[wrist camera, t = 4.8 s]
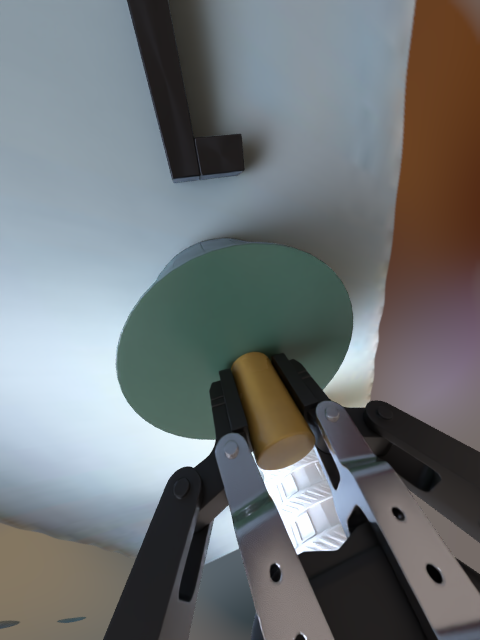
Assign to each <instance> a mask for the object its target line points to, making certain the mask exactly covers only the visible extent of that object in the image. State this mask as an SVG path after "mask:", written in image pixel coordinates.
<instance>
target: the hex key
mask: <svg viewBox="0 0 480 640" xmlns="http://www.w3.org/2000/svg"><path fill="white" fill-rule="evenodd" d="M127 2H128V6H129V10H130V14H131V18H132V22H133V26H134V30H135V34H136V38H137V42H138V46H139V50H140V54H141V58H142V62H143V66H144V70H145V73H146V77H147V81H148V85H149V89H150V93H151V97H152V101H153V105H154V109H155V113H156V117H157V121H158V125H159V129H160V133H161V137H162V141H163V145H164V149H165V153H166V157H167V161H168V165H169V169H170V172H171V176H172V180H173V182H174V183H179V182H187V181H195V180H204V179H212V178H220V177H228V176H236V175H239V174H240V173H241V172H243V171H244V170H245V169H244V158H243V147H242V136H241V134H232V135H221V136H209V137H198V138H194V136H193V131H192V125H191V120H190V115H189V110H188V104H187V99H186V94H185V88H184V83H183V78H182V72H181V67H180V62H179V56H178V51H177V46H176V40H175V35H174V30H173V24H172V19H171V14H170V8H169V3H168V0H127Z"/></svg>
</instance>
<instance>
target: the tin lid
mask: <svg viewBox="0 0 480 640" xmlns="http://www.w3.org/2000/svg"><path fill="white" fill-rule="evenodd" d="M352 330H353V312H352V305H351V301H350V298H349V295H348V292H347V290H346V289H345V287H344V285H343V283H342V281H341V280H340V279H339V277H338V276H337V275H336V274H335V272H334V271H333V270H332V269H331V268H330V267H328V266H327V265H326V264H325V263H324V262H323V261H321V260H319V259H318V258H316V257H314V256H313V255H311V254H309V253H307V252H304V251H301V250H299V249H296V248H293V247H290V246H286V245H281V244H276V243H268V242H246V243H237V244H230V245H226V246H222V247H218V248H214V249H210V250H208V251H206V252H203V253H201V254H198V255H196V256H193V257H191V258H189V259H187V260H186V261H184V262H182V263H181V264H179V265H177V266H175V267H174V268H172V269H171V270H169V271H168V272H167V273H166V274H164V275H163V276H162V277H161V278H159V279H158V280H157V281H156V282H155V283H154V284H153V285H152V286H151V287H150V288H149V289H148V290H147V291H146V292H145V293H144V294H143V295H142V296H141V298H140V299H139V301H138V302H137V304H136V305H135V307H134V308H133V310H132V311H131V313H130V315H129V316H128V319H127V321H126V323H125V325H124V327H123V329H122V332H121V335H120V338H119V342H118V346H117V353H116V370H117V378H118V381H119V384H120V387H121V390H122V393H123V395H124V396H125V398H126V400H127V402H128V403H129V404H130V406H131V407H132V408H133V409H134V411H135V412H136V413H137V414H138V415H140V416H141V417H142V418H143V419H144V420H145V421H147V422H148V423H150V424H152V425H153V426H155V427H157V428H159V429H161V430H163V431H165V432H168V433H171V434H174V435H177V436H181V437H186V438H193V439H208V440H214V439H216V434H215V427H214V420H213V413H212V407H211V400H210V393H209V390H210V387H211V384H212V383H213V382H216V381H219V380H220V376H219V371H221V370H224V369H228V368H231V371H232V375H233V378H234V381H235V384H236V388H237V391H238V394H239V398H240V401H241V404H242V407H243V411H244V414H245V417H246V420H247V424H248V428H249V433H250V442H251V446H252V449H253V453H254V456H255V460H256V463H257V465H258V466H259V468H261V469H263V470H269V471H271V470H278V469H282V468H286V467H288V466H291V465H293V464H295V463H296V462H298V461H300V460H301V459H303V458H304V457H305V456H306V455H307V454H308V453H309V452H310V451H311V450H312V449H313V447H314V445H315V442H316V440H315V436H314V434H313V432H312V431H311V429H310V427H309V426H308V424H307V422H306V420H305V419H304V417H303V415H302V414H301V412H300V410H299V409H298V407H297V405H296V404H295V402H294V400H293V398H292V397H291V395H290V393H289V392H288V390H287V388H286V387H285V385H284V383H283V381H282V380H281V378H280V376H279V375H278V373H277V371H276V370H275V368H274V366H273V365H272V363H271V356H273V355H277V354H280V353H284V354H285V355H286V357H287V358H288V359H289V360H291V359H295V360H297V361H298V362H300V363H301V364H302V365H303V366H304V367H305V369H306V370H307V371H308V373H309V374H310V375H311V377H312V378H313V379H314V380H315V381H316V383H317V384H318V385H319V387H320V388H321V389H322V390H323V389H324V388H325V387H326V386H327V384H328V383H329V382H330V381H331V380H332V378H333V377H334V375H335V374H336V372H337V371H338V369H339V367H340V366H341V364H342V362H343V360H344V358H345V355H346V353H347V351H348V348H349V344H350V341H351V336H352Z"/></svg>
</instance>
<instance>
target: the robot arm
mask: <svg viewBox="0 0 480 640" xmlns="http://www.w3.org/2000/svg"><path fill="white" fill-rule="evenodd" d="M271 363H272V365H273V366H274V368H275V370H276V371H277V373H278V375H279V376H280V378H281V380H282V381H283V383H284V385H285V387H286V388H287V390H288V392H289V393H290V395H291V397H292V398H293V400H294V402H295V404H296V405H297V407H298V409H299V410H300V412H301V414H302V415H303V417H304V419H305V420H306V422H307V424H308V426H309V427H310V429H311V431H312V432H313V434H314V436H315V440H316V442H315V445H314V447H313V448H314V451H315V453H316V456H317V458H318V460H319V463H320V465H321V468H322V470H323V473H324V475H325V477H326V480H327V482H328V485H329V487H330V490H331V493H332V496H333V502H334V506H335V509H336V512H337V515H338V518H339V520H340V523H341V525H342V528H343V530H344V533H345V535H346V538H347V540H346V541H345V542H344V543H343V544H342V546H341V547H340V548H339V549H338V550H335V551H304V552H302V553H300V554H298V555H297V553H296V550H295V548H294V546H293V544H292V541H291V539H290V537H289V534H288V532H287V530H286V528H285V525H284V523H283V521H282V518H281V516H280V514H279V512H278V509H277V507H276V505H275V503H274V501H273V499H272V498H271V496H270V495H269V493H268V491H267V489H266V486H265V484H264V482H263V479H262V477H261V475H260V472H259V470H258V468H257V465H256V463H255V461H254V458H253V456H252V454H251V452H253V449H252V446H251V442H250V433H249V428H248V424H247V420H246V417H245V414H244V411H243V407H242V404H241V401H240V398H239V394H238V391H237V388H236V384H235V381H234V378H233V375H232V371H231V368H228V369H224V370H221V371H219V376H220V380H219V381H216V382H213V383H212V384H211V387H210V390H209V393H210V400H211V407H212V413H213V420H214V427H215V434H216V442H215V446H214V448H213V450H212V452H211V453H210V455H209V456H208V457H207V458H206V459H204V460H203V461H202V462H201V463H199V464H198V465H197V466H196V467H194V468H192V467H183V468H181V469H179V470H177V471H176V472H175V473H174V474H173V475H172V476H171V477H170V479H169V480H168V482H167V484H166V487H165V489H164V492H163V494H162V496H161V499H160V501H159V504H158V506H157V509H156V511H155V514H154V516H153V519H152V521H151V523H150V526H149V528H148V531H147V533H146V536H145V538H144V541H143V543H142V546H141V548H140V550H139V553H138V555H137V558H136V560H135V563H134V565H133V568H132V570H131V573H130V575H129V577H128V580H127V582H126V585H125V587H124V590H123V592H122V595H121V597H120V600H119V602H118V604H117V607H116V609H115V612H114V615H113V617H112V619H111V622H110V624H109V627H108V629H107V631H106V634H105V636H104V639H103V640H188V638H189V633H190V628H191V624H192V619H193V614H194V609H195V605H196V601H197V596H198V591H199V587H200V582H201V577H202V573H203V568H204V563H205V559H206V554H207V549H208V545H209V540H210V535H211V531H212V526H213V521H214V518H215V517H216V516H217V515H218V514H219V513H221V512H222V511H223V510H224V509H225V508H226V507H227V506H228V505H229V507H230V511H231V515H232V519H233V525H234V530H235V534H236V538H237V541H238V545H239V549H240V552H241V556H242V560H243V564H244V567H245V571H246V575H247V578H248V582H249V586H250V590H251V593H252V597H253V601H254V604H255V608H256V614H255V618H254V623H253V628H252V634H251V640H480V574H479V573H477V572H476V571H474V570H473V569H472V568H470V567H469V566H467V565H466V564H464V563H463V562H461V561H460V560H458V559H457V558H456V557H454V556H453V554H452V553H451V551H450V550H449V548H448V547H447V545H446V544H445V543H444V541H443V540H442V538H441V537H440V535H439V534H438V532H437V531H436V529H435V528H434V527H433V525H432V524H431V522H430V521H429V519H428V518H427V517H426V515H425V514H424V512H423V511H422V509H421V508H420V507H419V505H418V504H417V502H416V501H415V499H414V498H413V496H412V495H411V493H410V492H409V490H410V491H411V492H413V493H414V494H415V495H417V496H418V497H419V498H421V499H422V500H423V501H425V502H426V503H427V504H429V505H430V506H431V507H433V508H434V509H435V510H437V511H438V512H439V513H441V514H442V515H443V516H445V517H446V518H447V519H449V520H450V521H451V522H453V523H454V524H455V525H457V526H458V527H459V528H461V529H462V530H463V531H465V532H466V533H467V534H469V535H470V536H471V537H473V538H474V539H475V540H477V541H478V542H479V543H480V452H478V451H476V450H475V449H473V448H471V447H469V446H467V445H465V444H463V443H461V442H460V441H457V440H456V439H454V438H452V437H450V436H448V435H446V434H445V433H443V432H441V431H439V430H437V429H435V428H433V427H431V426H429V425H428V424H426V423H424V422H422V421H420V420H418V419H416V418H414V417H412V416H410V415H409V414H407V413H405V412H403V411H401V410H399V409H397V408H396V407H394V406H392V405H390V404H388V403H385V402H383V401H371V402H369V403H368V404H367V405H366V407H365V408H347V407H342V406H341V405H340V404H338V403H336V402H333V401H331V400H330V399H329V398H328V397H327V395H326V394H325V393H324V392H323V390H322V389H321V388H320V387H319V385H318V384H317V383H316V381H315V380H314V379H313V378H312V377H311V375H310V374H309V373H308V371H307V370H306V369H305V367H304V366H303V365H302V364H301V363H300V362H298V361H297V360H295V359H291V360H289V359H288V358H287V357H286V355H285V354H284V353H280V354H277V355H273V356H271ZM408 489H409V490H408Z"/></svg>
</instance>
